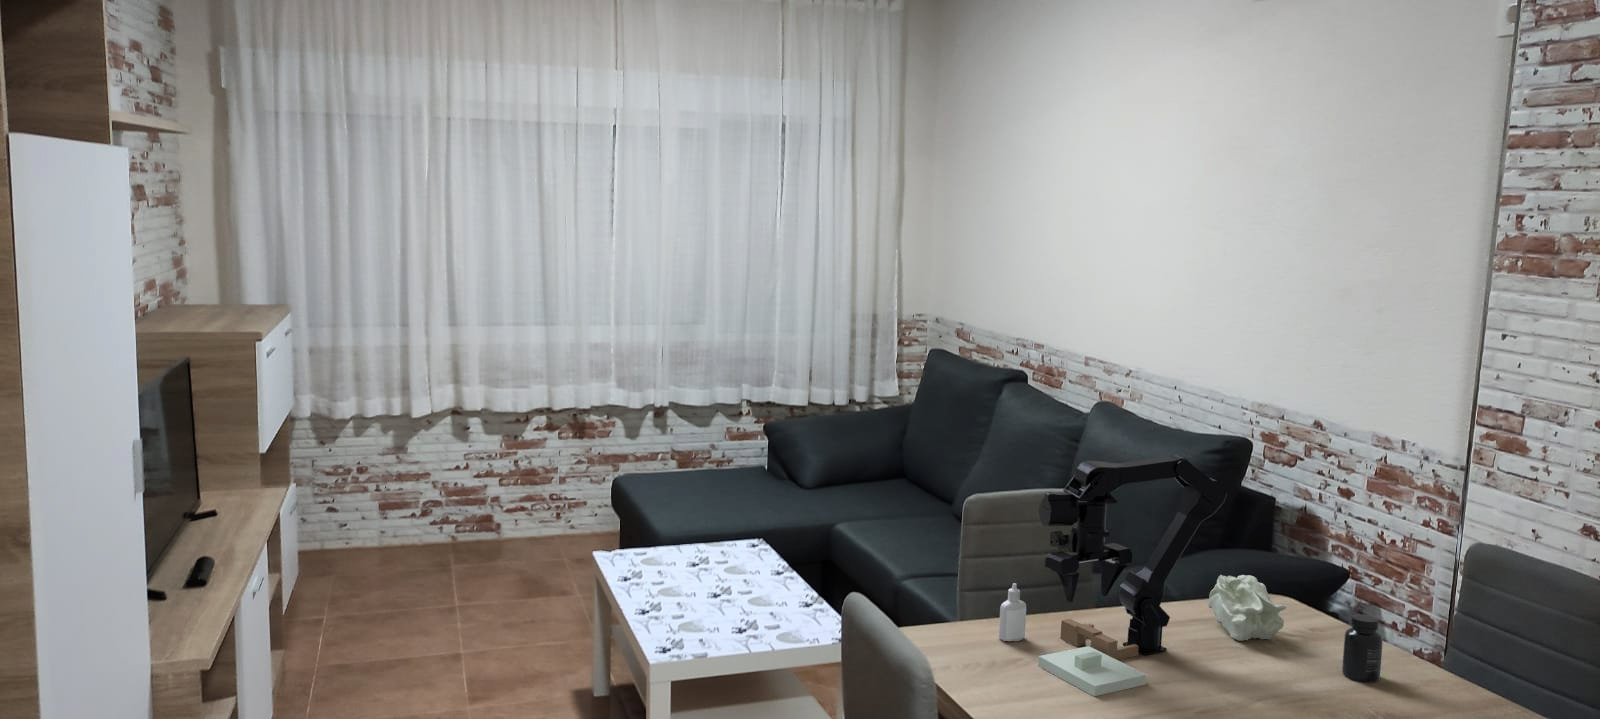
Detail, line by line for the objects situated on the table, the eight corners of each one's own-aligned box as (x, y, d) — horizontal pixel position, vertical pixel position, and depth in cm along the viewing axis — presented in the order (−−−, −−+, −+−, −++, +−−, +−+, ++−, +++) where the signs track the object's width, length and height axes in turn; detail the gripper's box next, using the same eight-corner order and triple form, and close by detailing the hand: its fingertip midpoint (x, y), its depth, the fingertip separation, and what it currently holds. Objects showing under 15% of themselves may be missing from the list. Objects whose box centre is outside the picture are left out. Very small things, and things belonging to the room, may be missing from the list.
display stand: (1088, 655, 236) (1089, 635, 236) (1145, 684, 222) (1147, 663, 222) (1038, 665, 230) (1039, 645, 230) (1094, 696, 216) (1095, 674, 216)
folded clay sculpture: (1263, 669, 249) (1301, 618, 242) (1209, 655, 247) (1246, 603, 239) (1235, 610, 265) (1270, 560, 257) (1184, 597, 262) (1218, 546, 255)
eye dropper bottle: (1026, 643, 242) (1029, 587, 241) (999, 642, 242) (1002, 586, 241) (1023, 635, 247) (1026, 581, 245) (996, 634, 247) (999, 580, 245)
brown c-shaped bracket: (1090, 632, 249) (1091, 612, 249) (1137, 655, 237) (1139, 634, 237) (1060, 638, 245) (1061, 618, 245) (1107, 661, 233) (1108, 640, 233)
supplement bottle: (1377, 672, 231) (1382, 615, 230) (1381, 685, 225) (1387, 626, 223) (1339, 667, 234) (1344, 610, 232) (1343, 680, 227) (1348, 621, 226)
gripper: (1097, 510, 246) (1094, 581, 248) (1029, 519, 237) (1025, 593, 239) (1136, 523, 237) (1131, 596, 239) (1065, 533, 228) (1061, 610, 230)
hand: (1087, 598), depth 237 cm, fingers open, 9 cm apart
